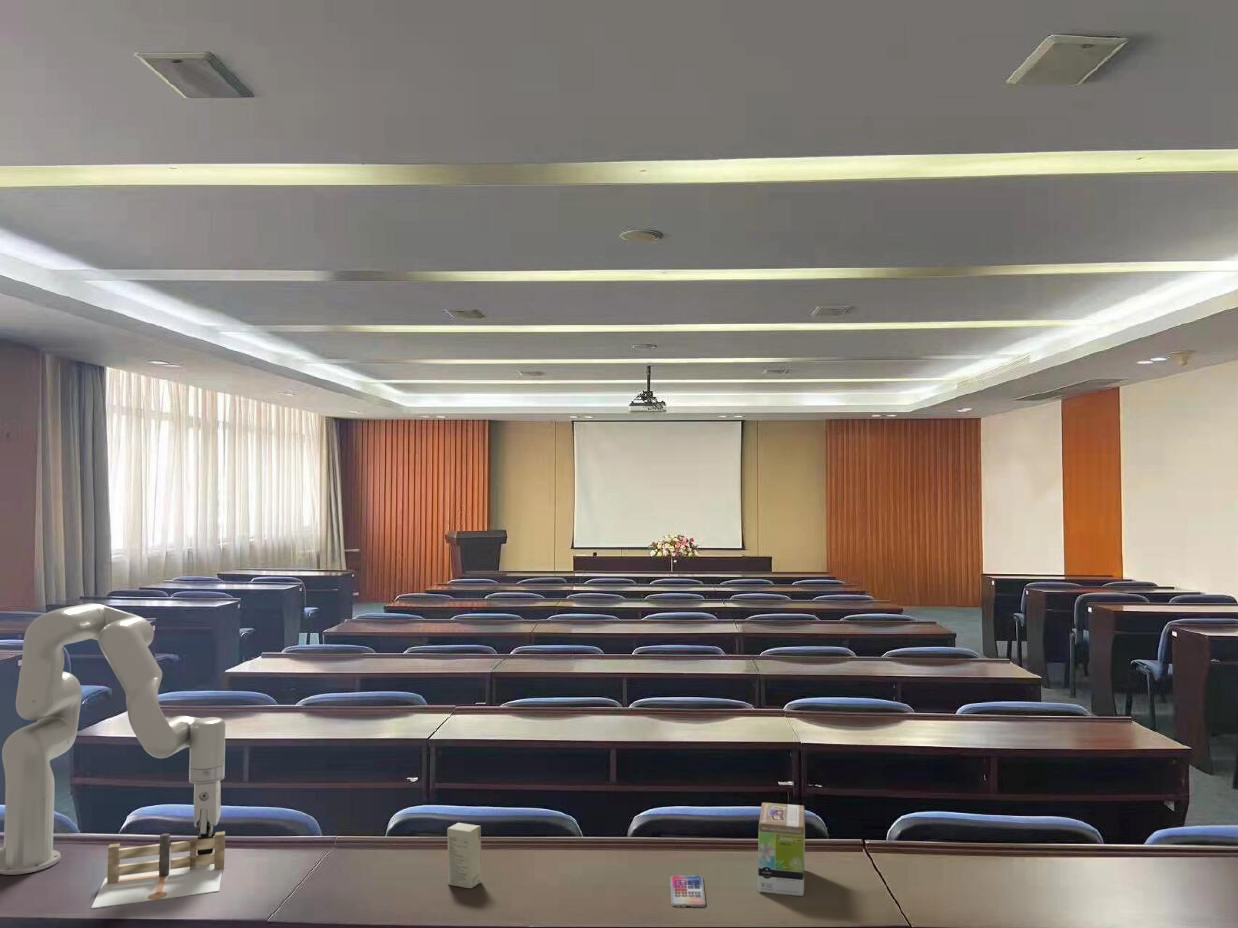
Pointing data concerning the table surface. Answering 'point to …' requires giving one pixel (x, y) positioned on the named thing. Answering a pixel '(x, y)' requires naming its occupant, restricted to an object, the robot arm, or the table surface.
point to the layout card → (159, 886)
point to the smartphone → (687, 891)
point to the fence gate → (200, 860)
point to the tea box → (781, 849)
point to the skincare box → (464, 855)
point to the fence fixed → (141, 867)
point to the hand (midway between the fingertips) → (205, 853)
